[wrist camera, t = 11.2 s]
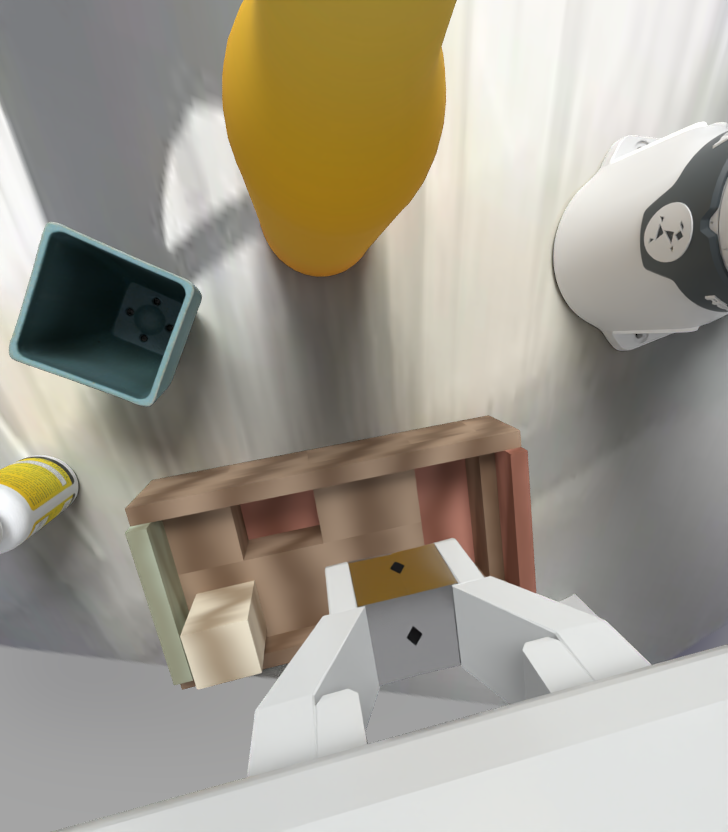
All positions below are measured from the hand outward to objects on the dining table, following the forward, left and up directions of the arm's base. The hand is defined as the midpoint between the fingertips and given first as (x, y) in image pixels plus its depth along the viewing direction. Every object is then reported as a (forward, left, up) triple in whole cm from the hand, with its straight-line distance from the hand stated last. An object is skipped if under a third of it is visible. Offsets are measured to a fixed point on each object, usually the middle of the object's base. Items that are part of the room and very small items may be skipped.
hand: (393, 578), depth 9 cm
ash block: (+11, +18, -25) cm, 33 cm away
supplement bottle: (+25, +4, -29) cm, 39 cm away
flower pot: (+13, -8, -29) cm, 33 cm away
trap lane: (0, +14, -29) cm, 32 cm away
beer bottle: (-2, -14, -29) cm, 33 cm away
